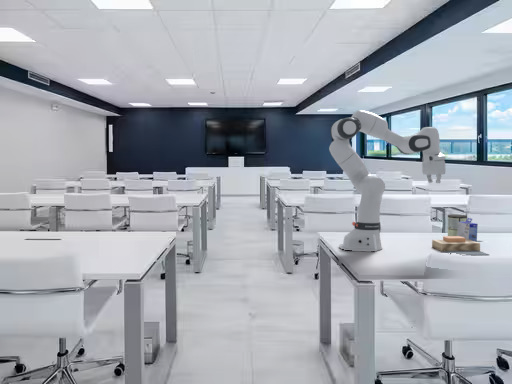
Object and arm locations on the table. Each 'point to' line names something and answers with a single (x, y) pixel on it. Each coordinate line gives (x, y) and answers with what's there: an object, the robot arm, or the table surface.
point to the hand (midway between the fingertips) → (434, 182)
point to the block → (454, 239)
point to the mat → (468, 252)
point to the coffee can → (455, 223)
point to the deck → (455, 245)
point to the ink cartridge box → (468, 230)
